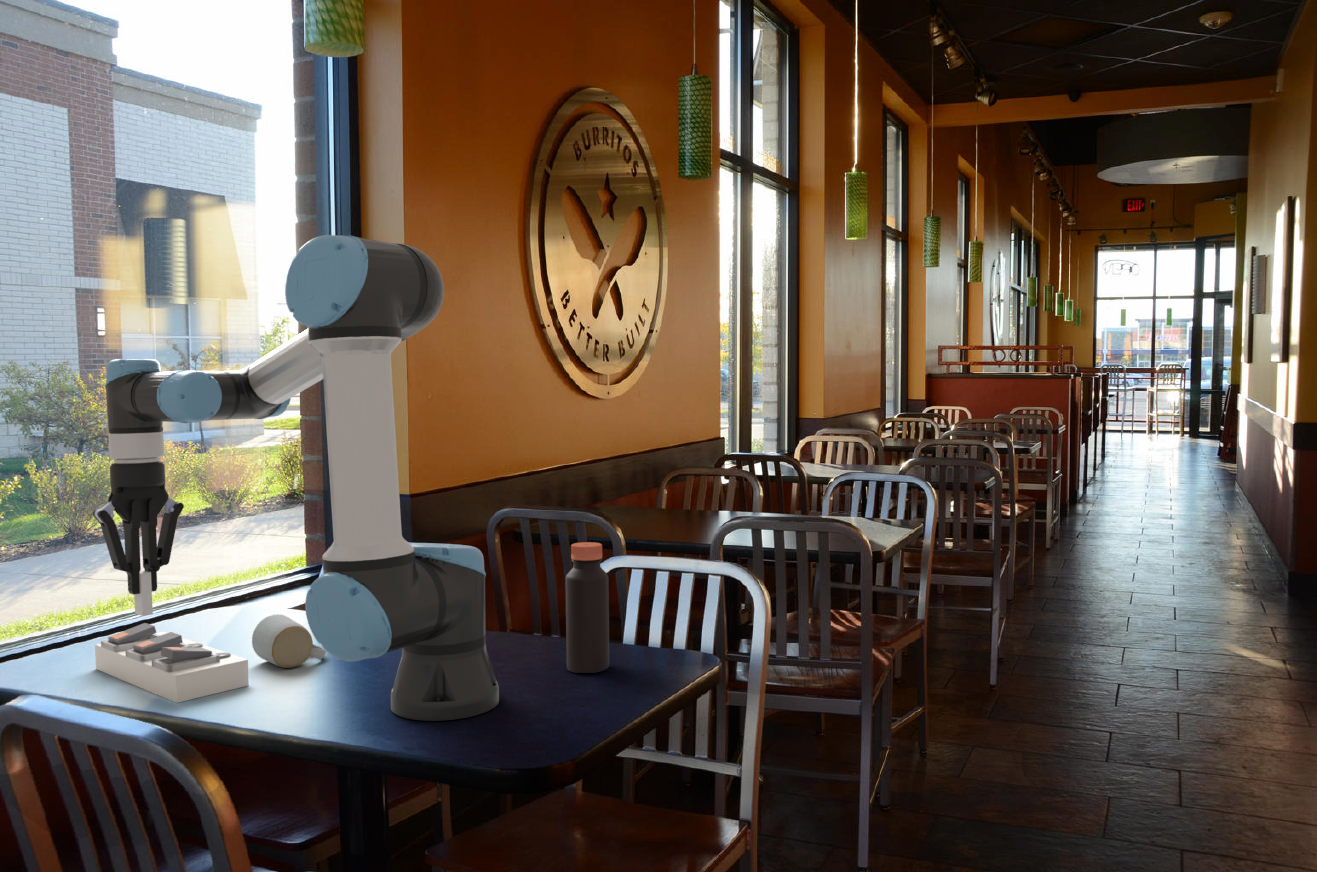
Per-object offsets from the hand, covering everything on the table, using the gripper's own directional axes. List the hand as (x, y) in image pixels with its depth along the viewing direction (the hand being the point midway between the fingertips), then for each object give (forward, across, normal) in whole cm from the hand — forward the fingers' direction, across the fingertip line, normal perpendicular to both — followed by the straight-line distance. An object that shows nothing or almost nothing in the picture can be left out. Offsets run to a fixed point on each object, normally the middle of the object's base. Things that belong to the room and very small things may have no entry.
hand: (143, 613), depth 162 cm
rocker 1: (+6, -2, -9) cm, 11 cm away
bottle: (+12, -48, +48) cm, 69 cm away
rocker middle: (+6, -2, 0) cm, 6 cm away
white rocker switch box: (+11, -4, 0) cm, 11 cm away
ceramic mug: (+11, -20, +7) cm, 24 cm away
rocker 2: (+6, -2, +9) cm, 11 cm away
